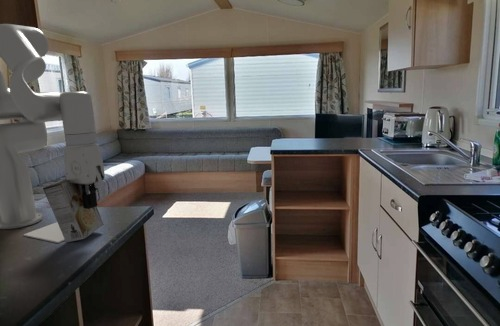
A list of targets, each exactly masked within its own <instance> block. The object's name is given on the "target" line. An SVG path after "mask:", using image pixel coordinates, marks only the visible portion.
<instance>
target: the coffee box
mask: <svg viewBox="0 0 500 326" xmlns="http://www.w3.org/2000/svg"><path fill="white" fill-rule="evenodd" d="M42 190H43V192H44V194H45V196H46V199H47V201H48V204H49V206H50V208H51V211H52V213H53V216H54V218H55V221H56V222H58V225H59V227H60V230H61V232H62V234H63V237H64V239H65V241H64V242H65V243H70V242H71V243H72V242H74V241H79V240H80V241H81V240H84V239H86V238H87V237H89V236H90V235H92V234H93V233H94V232H96V231H97V230H99V229H100V228H101V227H103V226H104V221H103V219H102V217H101V214H100V211H99V209H98V207H97V206H98V205H97V206H96V207H93V208H90V209H85V208H83V201H82V194H80V192H79V188H78V187H77V184H75V183H70V181H69V180H67V179H66V177H65V178H63V179H61V180H58V181H55V182H53V183H50V184H49V185H47V186H44V187H43V188H42Z"/></svg>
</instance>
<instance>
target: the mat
mask: <svg viewBox="0 0 500 326" xmlns="http://www.w3.org/2000/svg"><path fill="white" fill-rule="evenodd" d="M23 236H24V237H27V238H31V239H32V238H33V239H37V240H41V241H46V242H49V243H50V242H51V243H56V244H60V243H63V242H66V241H65V239H64V237H63V234H62V232H61V230H60V227H59V225H58V222H57V221H56V222H54V223H51V224H48V225H45V226H43V227H40V228H37V229H35V230H31V231H30V232H27V233H24V234H23Z"/></svg>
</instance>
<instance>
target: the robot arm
mask: <svg viewBox="0 0 500 326" xmlns="http://www.w3.org/2000/svg"><path fill="white" fill-rule="evenodd" d="M49 46H50V44H49V40H48V38H47V36H46V35H45V33H44V31H42V30H41V29H39V28H36V27H34V26H27V25H26V26H25V25H19V24H12V23H0V58H1V60H3V62H4V64H5V65H6V66H7V68H9V70H10V71H11V75H10V78H9V85H8V86H9V87H8V86H7V84H6V80H5V78H4V74H3V73H2V71H1V70H0V121H6V120H17V119H19V121H20V122H8V123H0V218H1V219H0V229H1V230H13V229H19V228H24V227H27V226H31V225H34V224H36V223H37V224H38V222H40V221H42V220H43V219H44V217H43V214H42V213H40V212H37V209H36V202H35V198H34V191H33V185H32V179H31V174H30V168H29V166H28V164H27V162H26V161H25V160H24V159H23V158H22V157H21V156H20V155H19V154H22V153H28V152H33V151H38V150H41V149H43V148H45V147H46V145H47V144H48V134H47V130H46V126H45V123H48V122H61V121H62V126H63V127H62V128H63V133H64V134H63V135H64V141H65V145H64V151H63V152H64V155H63V157H64V158H63V159H64V170H65V171H64V172H65V178H66V179H67V180H69V181H70V183H75V184H77V187H78V188H79V192H80V194H82V201H83V208H85V209H90V208H93V207H96V206H98V201H97V192H98V189H99V188H101V187H103V188H104V182H103V181H104V180H105V175H106V174H105V167H104V166H105V165H104V161H103V157H102V153H101V149H100V145H99V144H98V137H97V136H98V135H97V130H96V129H97V128H96V122H95V113H94V106H93V105H94V104H93V98H92V95H91V94H90V93H89V92H87V91H58V92H57V91H51V92H50V91H45V92H44V91H43V92H35V91H34V90H33V89H32V88H31V87H30V86H29V83H31V82H34V81H36V80H38V79H39V78H40V77H41V76H42V75H43V74H44V73H45V71H46V67H47V66H46V65H47V64H46V62H45V60H44V58H43V57H45V56H46V55H47V54H48V52H49Z"/></svg>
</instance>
